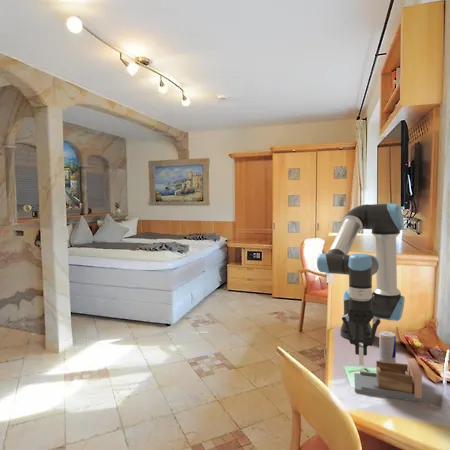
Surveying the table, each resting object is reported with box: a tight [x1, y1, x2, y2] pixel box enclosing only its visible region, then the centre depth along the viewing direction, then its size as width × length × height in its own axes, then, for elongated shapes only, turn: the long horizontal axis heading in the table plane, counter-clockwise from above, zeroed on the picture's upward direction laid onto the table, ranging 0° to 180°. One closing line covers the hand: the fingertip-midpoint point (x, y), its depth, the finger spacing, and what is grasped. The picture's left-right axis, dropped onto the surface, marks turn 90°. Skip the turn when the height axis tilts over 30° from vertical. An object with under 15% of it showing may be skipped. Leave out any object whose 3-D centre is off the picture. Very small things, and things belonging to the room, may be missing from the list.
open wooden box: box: [375, 360, 413, 393], centre depth 117 cm, size 10×10×6 cm
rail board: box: [353, 357, 423, 403], centre depth 118 cm, size 12×20×9 cm, turn 70°
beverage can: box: [378, 330, 397, 363], centre depth 129 cm, size 6×6×15 cm
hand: (361, 363), depth 121 cm, fingers closed
